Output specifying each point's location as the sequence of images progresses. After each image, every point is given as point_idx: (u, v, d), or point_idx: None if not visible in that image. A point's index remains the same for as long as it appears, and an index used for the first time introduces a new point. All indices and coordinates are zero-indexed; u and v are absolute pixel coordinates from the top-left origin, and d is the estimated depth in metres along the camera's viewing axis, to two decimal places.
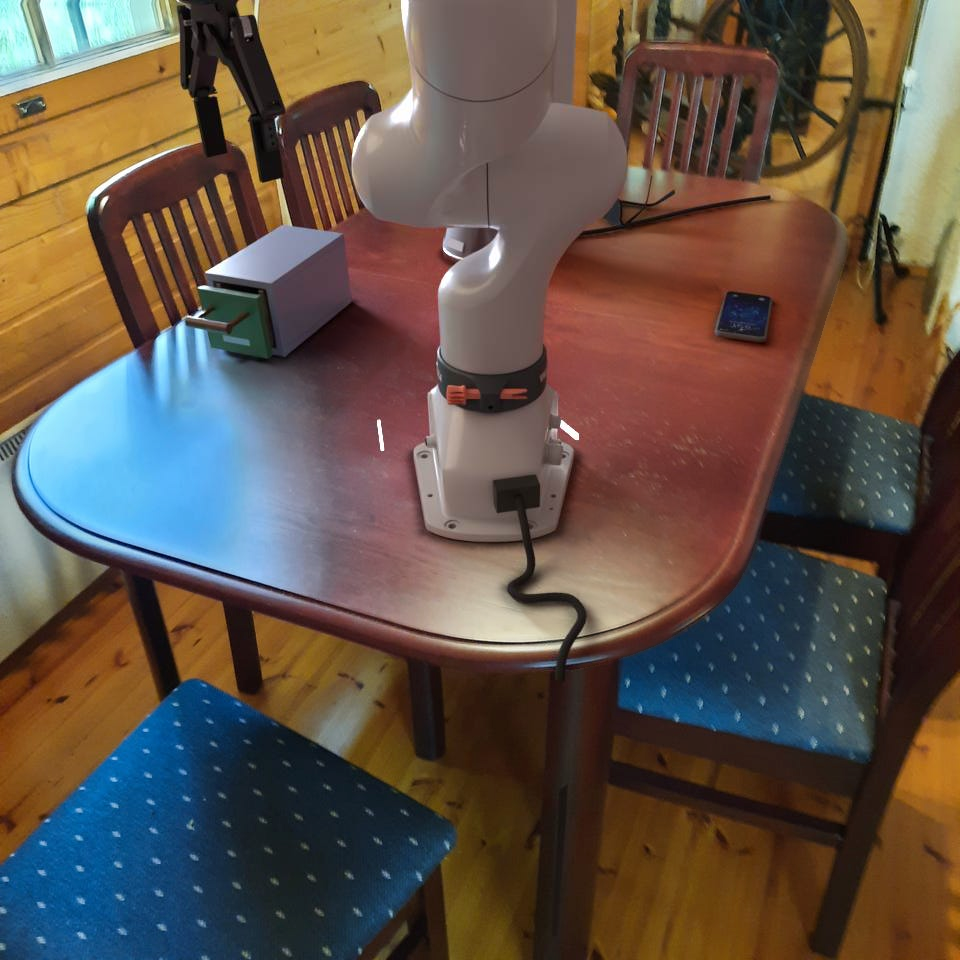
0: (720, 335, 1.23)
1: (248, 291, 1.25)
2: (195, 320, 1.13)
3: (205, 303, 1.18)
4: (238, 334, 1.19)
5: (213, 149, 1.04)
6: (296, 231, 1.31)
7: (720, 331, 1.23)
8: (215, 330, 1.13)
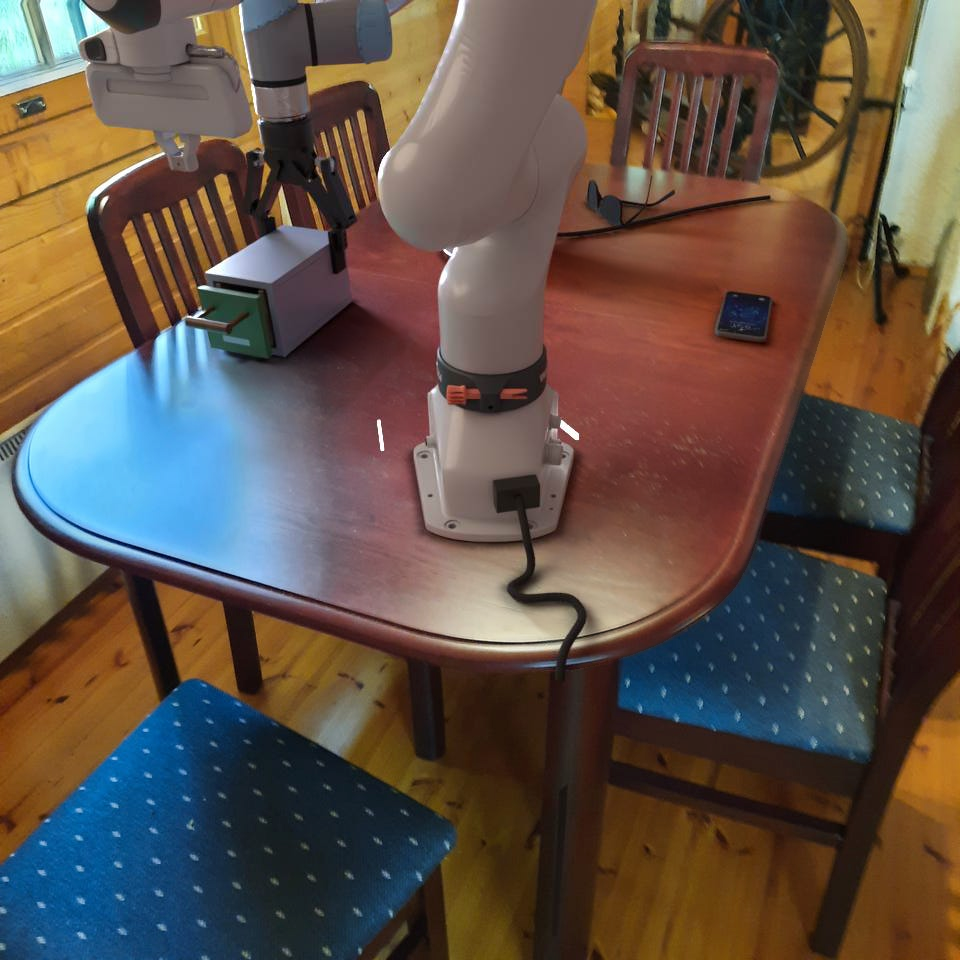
0: (720, 335, 1.23)
1: (248, 291, 1.25)
2: (195, 320, 1.13)
3: (205, 303, 1.18)
4: (238, 334, 1.19)
5: None
6: (296, 231, 1.31)
7: (720, 331, 1.23)
8: (215, 330, 1.13)
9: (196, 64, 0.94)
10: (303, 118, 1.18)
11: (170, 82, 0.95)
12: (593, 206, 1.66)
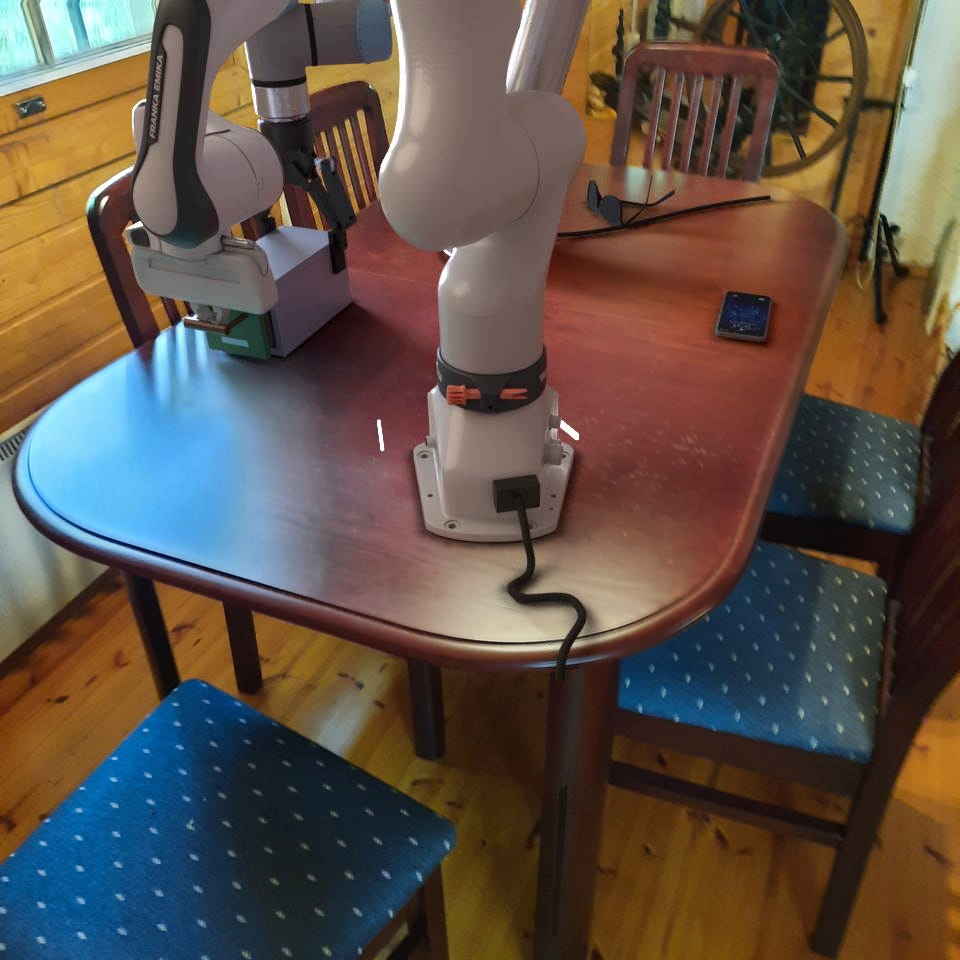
0: (720, 335, 1.23)
1: None
2: (193, 321, 1.13)
3: None
4: (237, 335, 1.18)
5: None
6: (296, 231, 1.30)
7: (720, 331, 1.23)
8: (213, 331, 1.12)
9: (229, 253, 1.06)
10: (303, 118, 1.18)
11: (206, 266, 1.07)
12: (593, 206, 1.66)
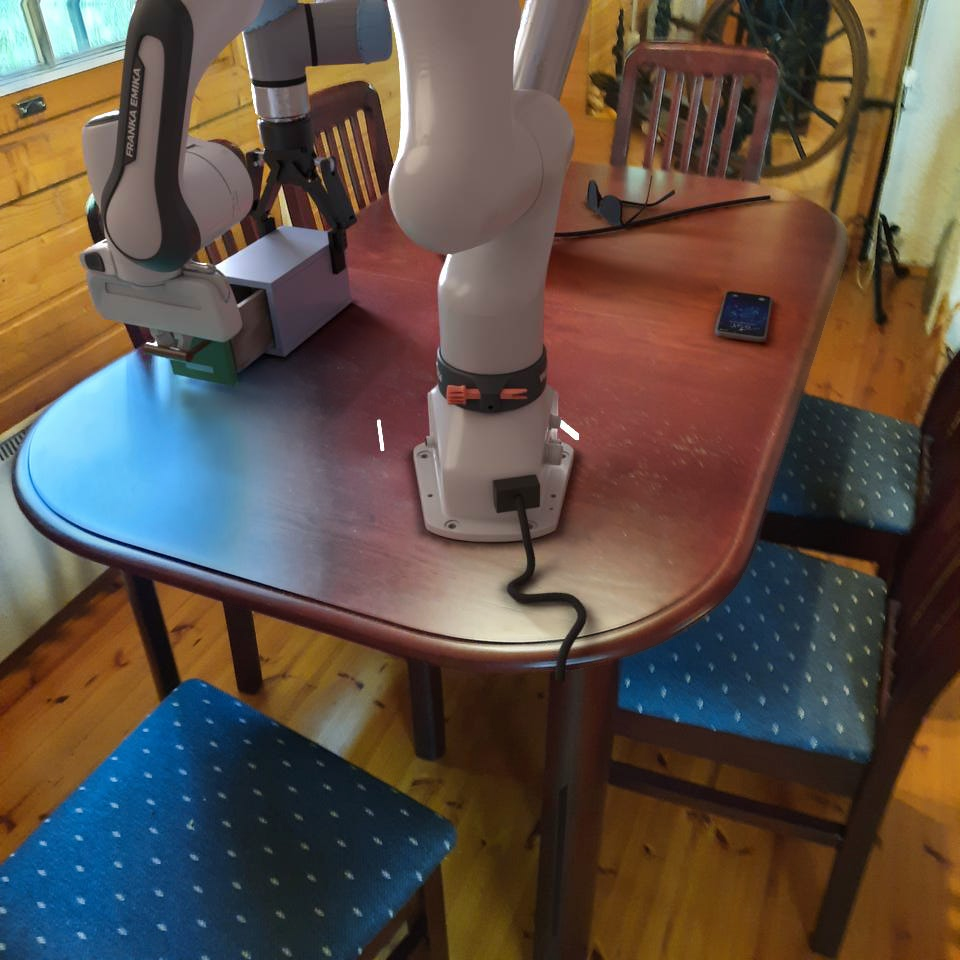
0: (720, 335, 1.23)
1: None
2: (154, 347, 1.07)
3: None
4: (201, 361, 1.13)
5: None
6: (296, 231, 1.30)
7: (720, 331, 1.23)
8: (175, 358, 1.06)
9: (188, 277, 1.00)
10: (303, 118, 1.18)
11: (164, 291, 1.01)
12: (593, 206, 1.66)
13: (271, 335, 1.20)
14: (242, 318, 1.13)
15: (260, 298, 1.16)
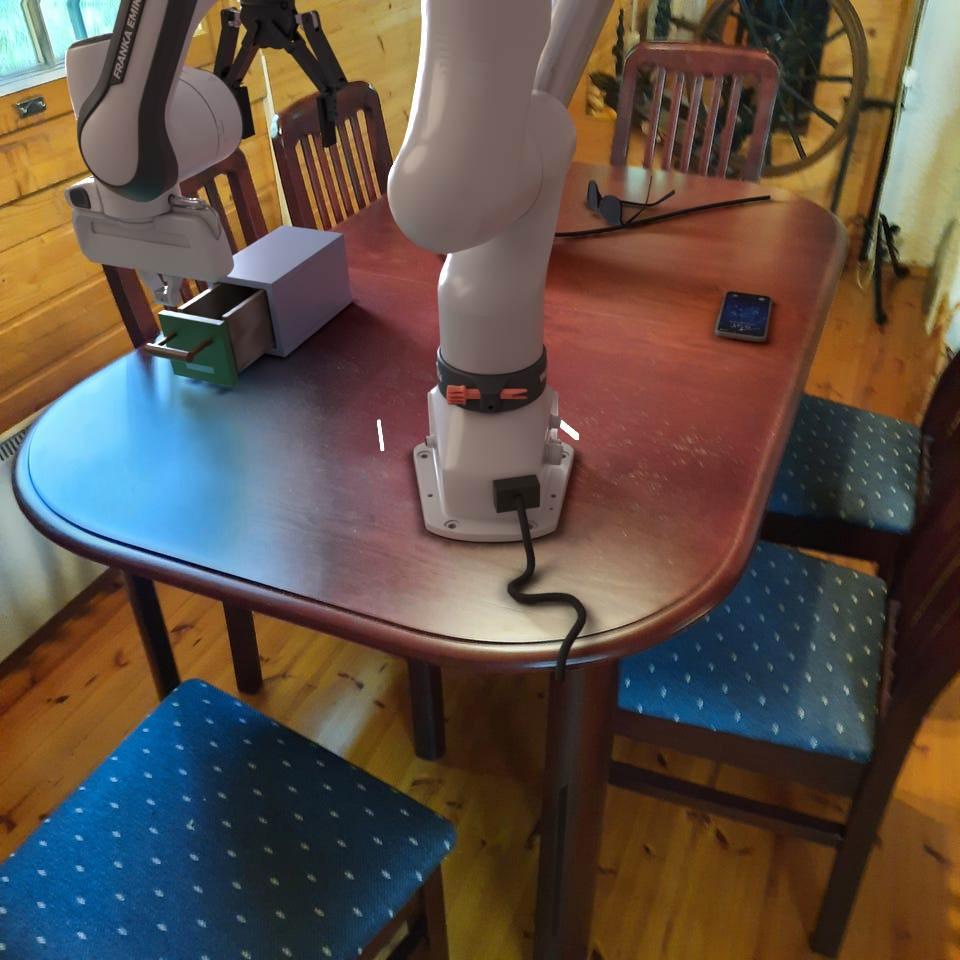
0: (720, 335, 1.23)
1: (214, 315, 1.19)
2: (154, 348, 1.07)
3: (166, 329, 1.12)
4: (202, 361, 1.13)
5: None
6: (296, 231, 1.30)
7: (720, 331, 1.23)
8: (175, 359, 1.06)
9: (178, 214, 0.96)
10: None
11: (153, 229, 0.97)
12: (593, 206, 1.66)
13: (271, 335, 1.20)
14: (242, 319, 1.13)
15: (260, 298, 1.16)
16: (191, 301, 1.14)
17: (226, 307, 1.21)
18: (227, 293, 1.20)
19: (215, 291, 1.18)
